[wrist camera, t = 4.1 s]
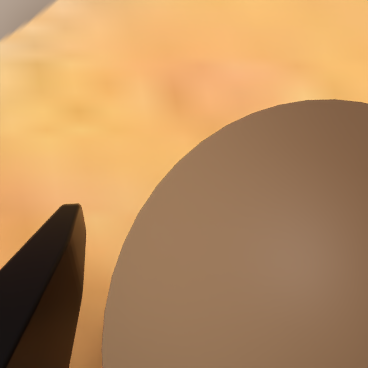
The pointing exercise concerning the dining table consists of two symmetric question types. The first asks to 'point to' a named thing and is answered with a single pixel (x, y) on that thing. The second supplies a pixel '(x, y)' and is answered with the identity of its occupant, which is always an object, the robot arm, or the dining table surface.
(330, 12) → the dining table surface
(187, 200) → the walnut peg
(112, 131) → the dining table surface
